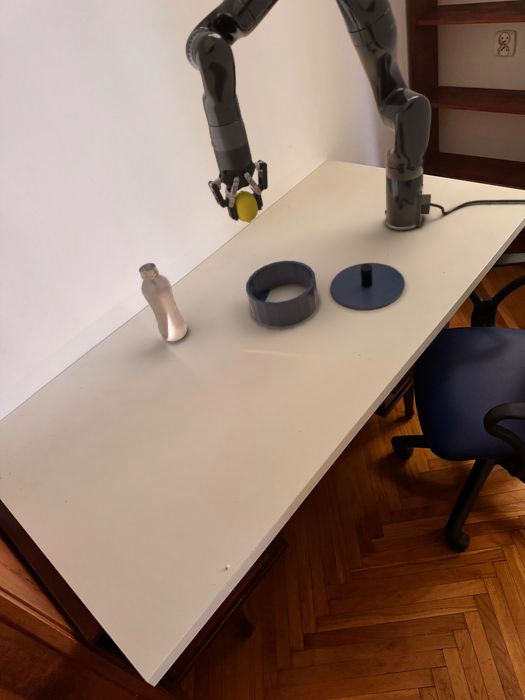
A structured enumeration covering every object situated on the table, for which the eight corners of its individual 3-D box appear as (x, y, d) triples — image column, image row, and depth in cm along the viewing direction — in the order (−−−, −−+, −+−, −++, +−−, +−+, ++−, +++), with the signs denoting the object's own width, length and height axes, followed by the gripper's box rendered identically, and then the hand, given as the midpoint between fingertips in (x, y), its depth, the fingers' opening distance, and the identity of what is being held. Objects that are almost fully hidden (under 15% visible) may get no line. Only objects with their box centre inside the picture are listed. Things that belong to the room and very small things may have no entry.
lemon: (264, 217, 112) (258, 185, 106) (253, 230, 109) (245, 198, 103) (245, 215, 114) (237, 184, 109) (233, 227, 111) (225, 196, 106)
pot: (324, 285, 117) (321, 261, 112) (309, 330, 107) (305, 305, 102) (263, 283, 122) (257, 260, 117) (243, 325, 112) (236, 302, 107)
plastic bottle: (160, 333, 116) (129, 266, 102) (186, 322, 117) (158, 255, 103) (166, 348, 112) (134, 281, 98) (193, 337, 113) (165, 269, 99)
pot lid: (407, 267, 116) (408, 245, 112) (400, 314, 105) (400, 292, 101) (338, 265, 122) (336, 245, 117) (324, 309, 111) (321, 289, 106)
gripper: (206, 159, 94) (227, 232, 106) (268, 133, 97) (281, 207, 109) (192, 149, 99) (213, 220, 111) (251, 125, 103) (266, 197, 114)
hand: (247, 213), depth 110 cm, fingers closed on lemon, 5 cm apart
